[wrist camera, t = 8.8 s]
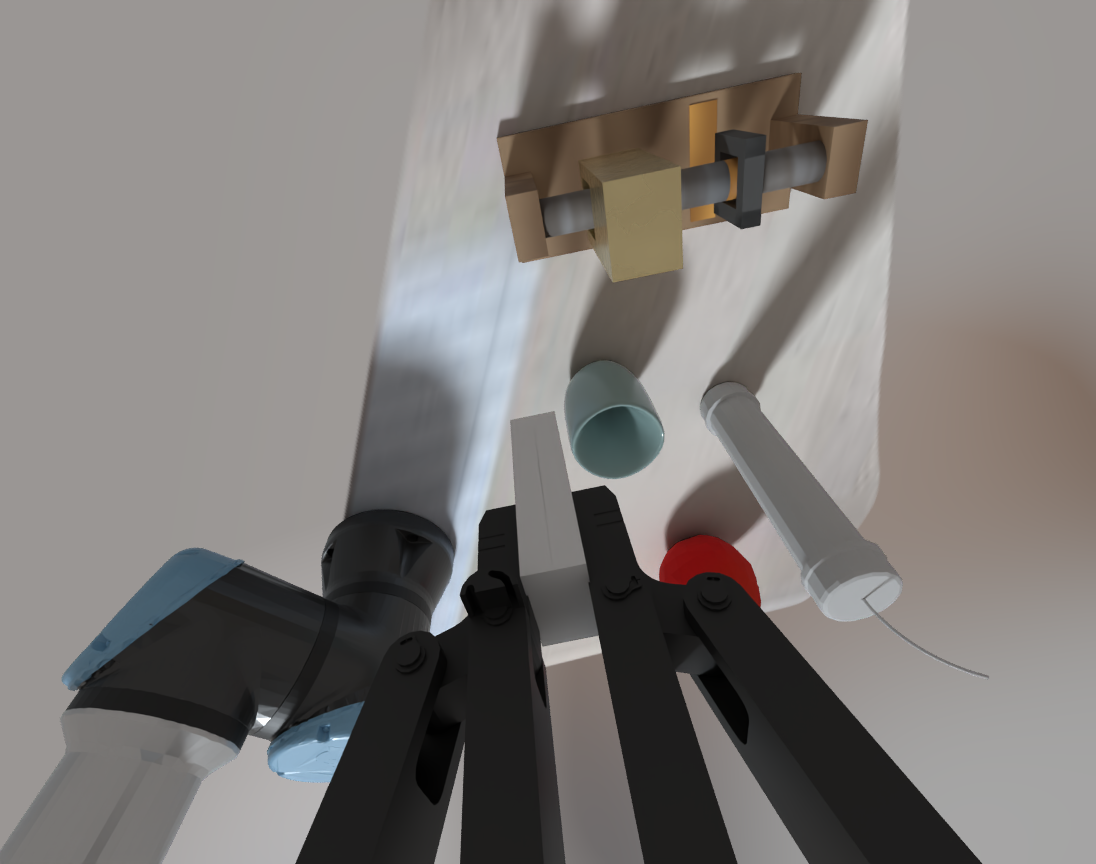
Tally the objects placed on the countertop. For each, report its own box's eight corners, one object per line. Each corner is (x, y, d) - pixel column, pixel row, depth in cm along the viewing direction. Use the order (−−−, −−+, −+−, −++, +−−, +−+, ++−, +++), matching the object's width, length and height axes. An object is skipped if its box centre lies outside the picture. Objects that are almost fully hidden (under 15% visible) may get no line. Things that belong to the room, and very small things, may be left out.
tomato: (634, 575, 66) (659, 669, 56) (667, 509, 60) (704, 601, 49) (712, 583, 69) (751, 675, 58) (752, 520, 62) (805, 611, 51)
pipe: (698, 383, 50) (889, 668, 25) (760, 374, 50) (1011, 650, 25) (696, 428, 53) (863, 719, 29) (754, 419, 53) (971, 704, 28)
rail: (521, 259, 42) (526, 298, 34) (496, 137, 36) (495, 150, 29) (782, 205, 41) (848, 233, 33) (794, 73, 36) (876, 68, 28)
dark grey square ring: (713, 213, 35) (741, 229, 31) (715, 132, 32) (745, 139, 28) (730, 209, 35) (760, 225, 31) (733, 129, 32) (766, 134, 28)
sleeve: (588, 240, 36) (612, 282, 28) (578, 160, 33) (602, 182, 25) (642, 228, 36) (682, 268, 28) (637, 147, 33) (680, 166, 25)
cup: (601, 333, 46) (622, 385, 38) (653, 381, 49) (683, 439, 41) (544, 388, 49) (552, 447, 41) (597, 430, 52) (614, 493, 44)
